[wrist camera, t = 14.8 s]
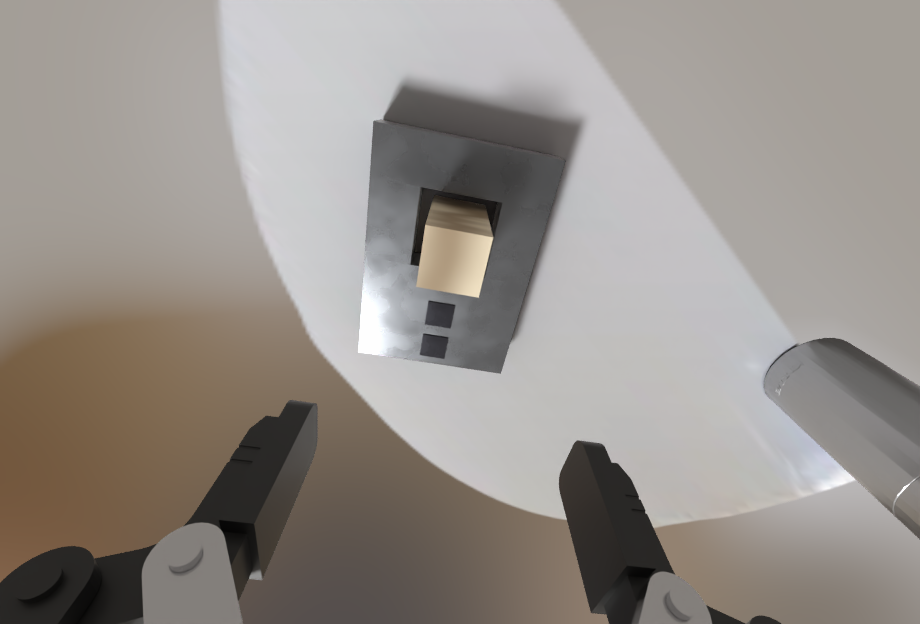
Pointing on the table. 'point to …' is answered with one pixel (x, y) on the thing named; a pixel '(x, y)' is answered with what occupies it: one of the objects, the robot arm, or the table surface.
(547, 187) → the metal socket plate
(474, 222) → the maple block
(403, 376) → the table surface
